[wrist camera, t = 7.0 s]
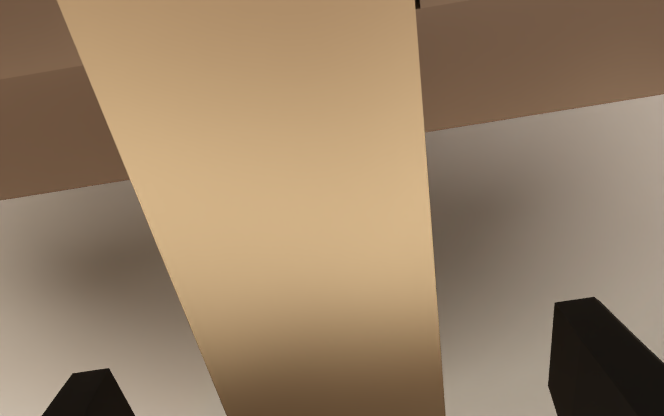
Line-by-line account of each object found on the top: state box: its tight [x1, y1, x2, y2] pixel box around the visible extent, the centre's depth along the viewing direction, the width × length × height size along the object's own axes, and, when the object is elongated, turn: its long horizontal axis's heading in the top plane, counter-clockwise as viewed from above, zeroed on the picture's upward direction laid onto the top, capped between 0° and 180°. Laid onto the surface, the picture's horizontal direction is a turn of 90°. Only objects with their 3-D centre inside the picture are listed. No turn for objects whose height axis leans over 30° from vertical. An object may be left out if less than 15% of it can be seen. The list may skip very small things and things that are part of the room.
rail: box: [57, 0, 445, 416], centre depth 12 cm, size 14×3×6 cm, turn 9°
